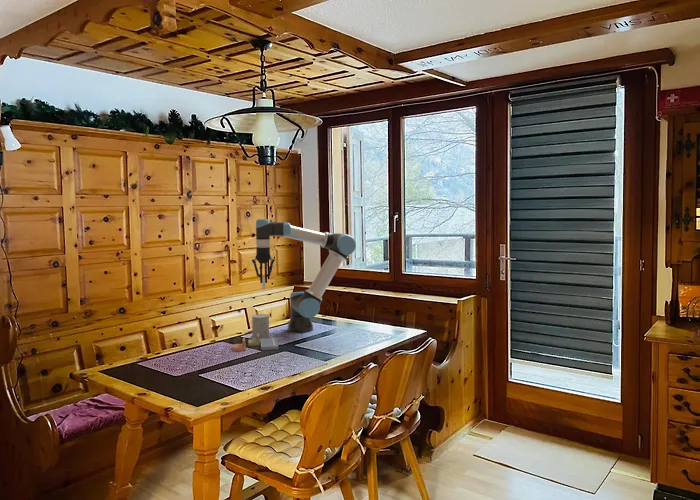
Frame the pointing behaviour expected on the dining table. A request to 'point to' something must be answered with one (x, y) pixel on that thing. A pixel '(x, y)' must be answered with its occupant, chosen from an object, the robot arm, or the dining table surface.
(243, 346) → the terracotta stub
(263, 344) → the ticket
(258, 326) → the grey cylinder
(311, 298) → the robot arm
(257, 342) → the olive stub
